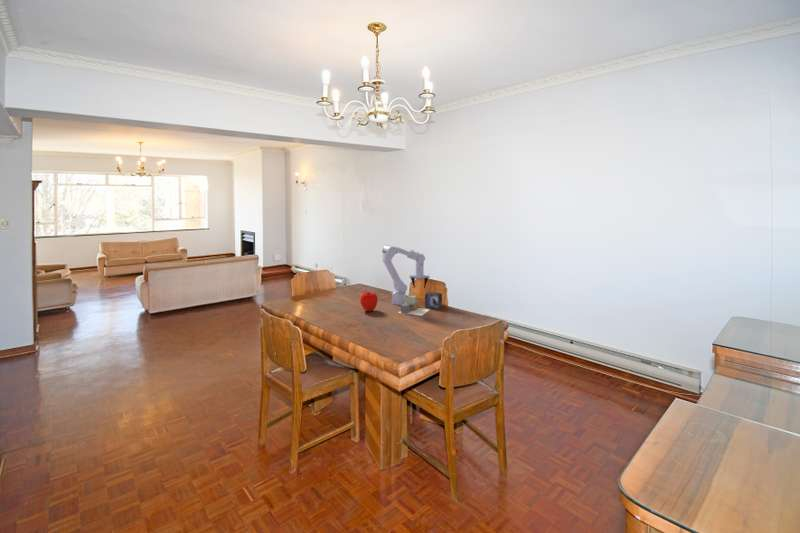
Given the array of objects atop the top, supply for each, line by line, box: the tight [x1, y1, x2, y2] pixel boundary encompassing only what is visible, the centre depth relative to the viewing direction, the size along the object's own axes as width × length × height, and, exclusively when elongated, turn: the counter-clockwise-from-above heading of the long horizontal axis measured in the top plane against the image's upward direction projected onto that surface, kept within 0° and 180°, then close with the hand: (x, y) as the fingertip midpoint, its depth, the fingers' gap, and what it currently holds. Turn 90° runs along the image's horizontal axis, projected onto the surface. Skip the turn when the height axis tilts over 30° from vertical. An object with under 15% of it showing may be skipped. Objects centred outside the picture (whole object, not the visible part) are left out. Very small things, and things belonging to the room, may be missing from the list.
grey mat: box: [398, 307, 431, 317], centre depth 269 cm, size 17×16×1 cm
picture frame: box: [424, 291, 443, 310], centre depth 278 cm, size 11×6×10 cm, turn 62°
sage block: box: [406, 295, 417, 305], centre depth 273 cm, size 5×5×5 cm
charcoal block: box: [400, 304, 410, 314], centre depth 266 cm, size 5×5×5 cm
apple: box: [359, 291, 379, 312], centre depth 269 cm, size 12×12×13 cm
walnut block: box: [406, 302, 419, 311], centre depth 273 cm, size 7×7×4 cm
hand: (419, 287), depth 294 cm, fingers open, 7 cm apart
